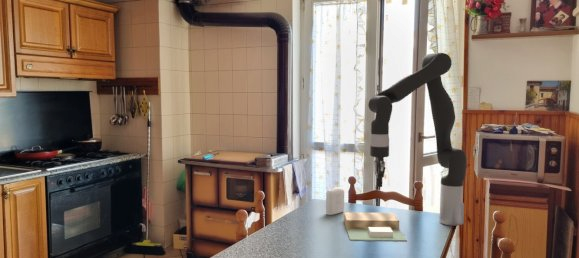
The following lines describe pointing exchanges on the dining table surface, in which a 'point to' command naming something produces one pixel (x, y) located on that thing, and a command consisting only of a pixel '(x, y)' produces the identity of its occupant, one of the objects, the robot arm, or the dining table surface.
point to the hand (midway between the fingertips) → (379, 186)
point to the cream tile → (380, 232)
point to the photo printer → (335, 201)
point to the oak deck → (370, 220)
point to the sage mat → (364, 236)
